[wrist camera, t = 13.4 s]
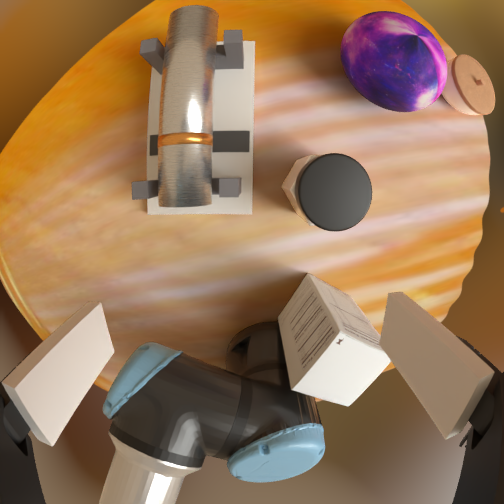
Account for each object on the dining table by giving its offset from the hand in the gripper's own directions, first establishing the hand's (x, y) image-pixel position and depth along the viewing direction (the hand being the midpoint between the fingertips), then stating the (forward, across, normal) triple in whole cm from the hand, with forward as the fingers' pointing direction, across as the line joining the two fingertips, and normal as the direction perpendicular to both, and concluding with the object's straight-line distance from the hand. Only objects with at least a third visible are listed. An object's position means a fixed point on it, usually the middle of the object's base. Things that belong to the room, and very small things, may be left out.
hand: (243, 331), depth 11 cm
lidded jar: (+28, -38, -25) cm, 53 cm away
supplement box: (+29, -11, +14) cm, 34 cm away
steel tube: (+20, +6, -16) cm, 26 cm away
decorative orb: (+28, -20, -24) cm, 42 cm away
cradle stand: (+28, +6, -15) cm, 33 cm away
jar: (+29, -10, -5) cm, 31 cm away
